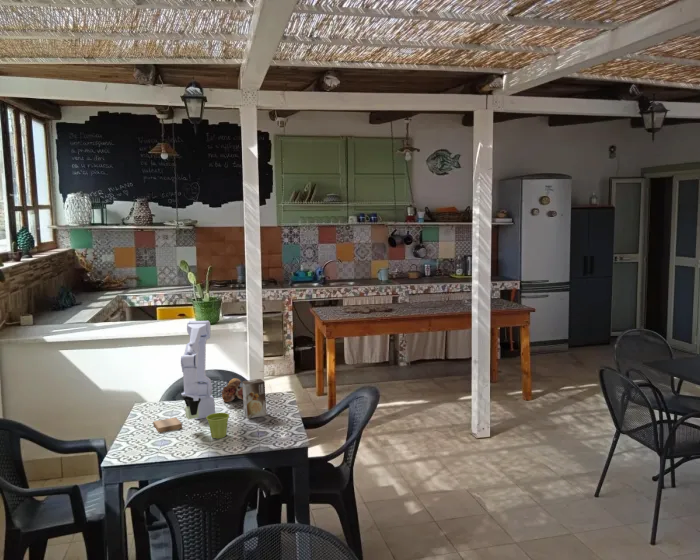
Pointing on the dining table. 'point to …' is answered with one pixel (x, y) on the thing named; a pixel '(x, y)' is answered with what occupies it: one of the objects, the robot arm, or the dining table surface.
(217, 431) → the plant pot
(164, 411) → the dining table surface
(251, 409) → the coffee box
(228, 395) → the seed pod
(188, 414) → the sage cube
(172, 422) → the tan block
